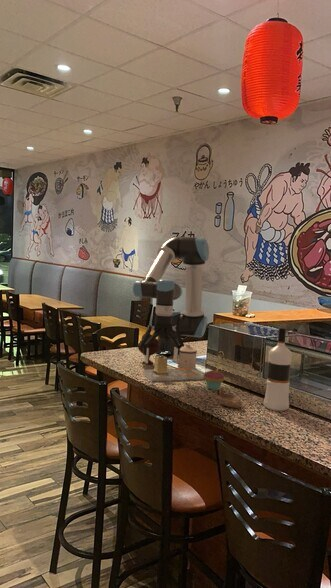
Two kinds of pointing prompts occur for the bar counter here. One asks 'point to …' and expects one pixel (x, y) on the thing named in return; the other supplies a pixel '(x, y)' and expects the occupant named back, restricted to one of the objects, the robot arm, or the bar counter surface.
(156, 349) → the ice cream bowl
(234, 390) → the bar counter surface
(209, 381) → the cupcake
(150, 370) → the grey flat slab
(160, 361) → the beige upright block
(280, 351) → the vodka
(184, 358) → the teacup with lid
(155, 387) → the bar counter surface
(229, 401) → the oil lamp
